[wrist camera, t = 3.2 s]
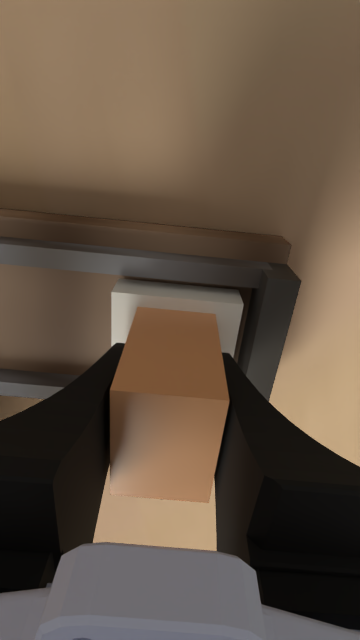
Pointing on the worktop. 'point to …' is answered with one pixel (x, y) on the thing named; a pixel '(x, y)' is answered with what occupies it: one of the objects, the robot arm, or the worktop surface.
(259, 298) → the rail board
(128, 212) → the worktop surface
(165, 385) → the block
